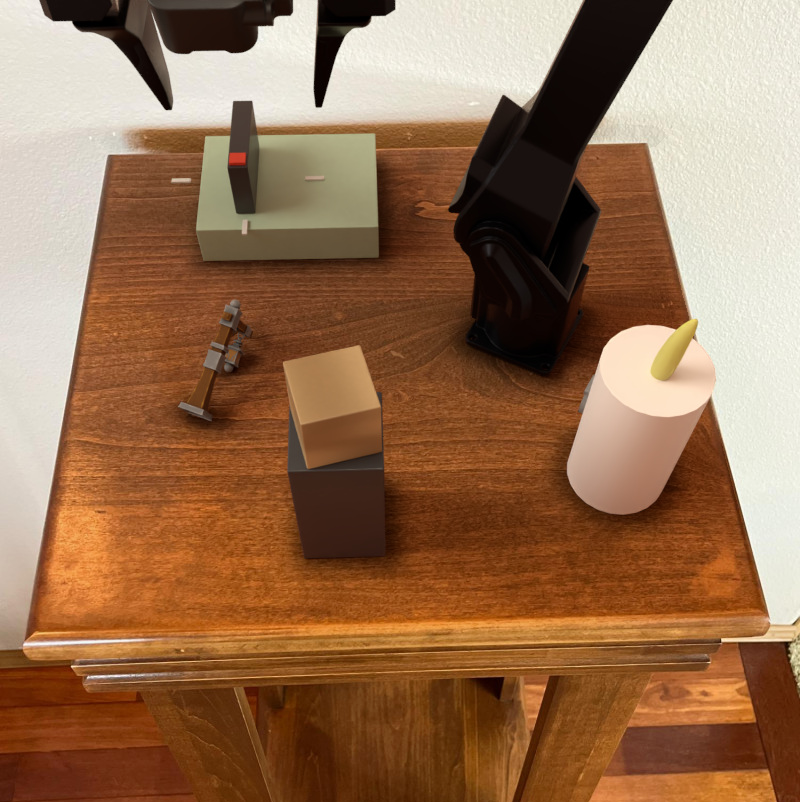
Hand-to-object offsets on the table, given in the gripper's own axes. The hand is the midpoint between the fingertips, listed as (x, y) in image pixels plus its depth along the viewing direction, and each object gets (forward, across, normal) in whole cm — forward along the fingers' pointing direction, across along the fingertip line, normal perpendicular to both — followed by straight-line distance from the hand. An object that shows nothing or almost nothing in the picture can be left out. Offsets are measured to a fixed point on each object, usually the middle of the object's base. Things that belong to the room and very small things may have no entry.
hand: (244, 104), depth 56 cm
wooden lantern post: (+13, -3, -11) cm, 17 cm away
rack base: (+13, 0, +5) cm, 14 cm away
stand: (+13, +6, -22) cm, 27 cm away
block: (+3, +6, -22) cm, 23 cm away
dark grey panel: (+10, -1, +5) cm, 11 cm away
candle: (+13, +23, -19) cm, 33 cm away
